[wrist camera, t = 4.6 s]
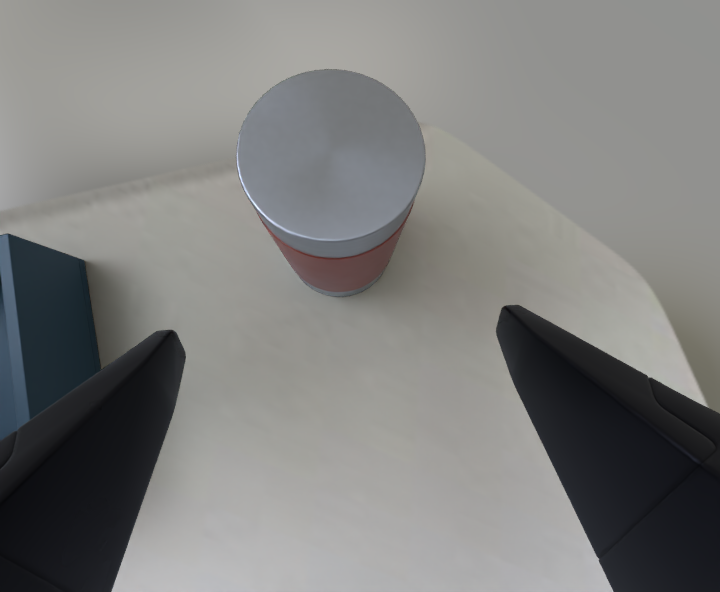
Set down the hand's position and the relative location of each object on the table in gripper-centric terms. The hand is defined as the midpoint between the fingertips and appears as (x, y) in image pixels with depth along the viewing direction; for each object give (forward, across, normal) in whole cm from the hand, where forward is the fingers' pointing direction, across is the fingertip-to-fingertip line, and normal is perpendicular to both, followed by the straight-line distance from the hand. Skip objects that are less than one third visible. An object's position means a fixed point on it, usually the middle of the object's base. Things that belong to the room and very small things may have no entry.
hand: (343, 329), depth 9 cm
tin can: (+13, 0, +4) cm, 14 cm away
